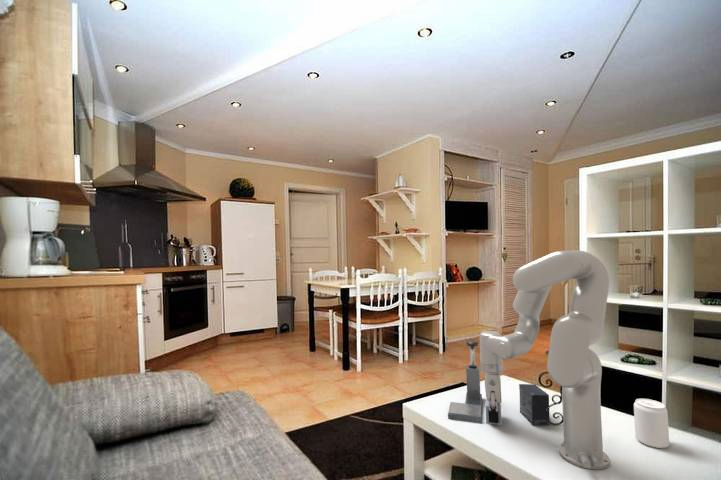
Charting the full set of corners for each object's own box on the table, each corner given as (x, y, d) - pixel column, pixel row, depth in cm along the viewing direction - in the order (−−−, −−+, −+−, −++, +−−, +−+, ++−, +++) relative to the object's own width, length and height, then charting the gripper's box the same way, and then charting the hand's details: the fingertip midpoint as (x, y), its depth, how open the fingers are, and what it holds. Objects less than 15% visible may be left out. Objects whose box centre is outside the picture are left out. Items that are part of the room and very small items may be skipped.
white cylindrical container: (656, 451, 103) (654, 410, 104) (629, 438, 111) (627, 399, 112) (676, 447, 106) (674, 406, 106) (647, 434, 113) (646, 396, 114)
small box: (551, 425, 120) (550, 394, 121) (532, 425, 120) (531, 394, 121) (536, 411, 131) (535, 383, 131) (519, 412, 131) (518, 383, 131)
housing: (501, 425, 121) (500, 404, 122) (486, 423, 123) (485, 402, 123) (500, 418, 126) (499, 398, 126) (486, 416, 128) (485, 396, 128)
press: (481, 423, 123) (480, 385, 123) (448, 418, 127) (447, 382, 127) (481, 397, 144) (480, 365, 145) (453, 394, 148) (452, 363, 148)
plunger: (479, 376, 140) (477, 343, 141) (467, 375, 142) (465, 343, 142) (479, 373, 145) (478, 341, 145) (467, 372, 146) (466, 340, 147)
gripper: (504, 375, 116) (506, 431, 115) (501, 360, 132) (503, 408, 131) (480, 373, 118) (482, 427, 118) (480, 358, 135) (482, 406, 134)
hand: (493, 417), depth 125 cm, fingers open, 6 cm apart
